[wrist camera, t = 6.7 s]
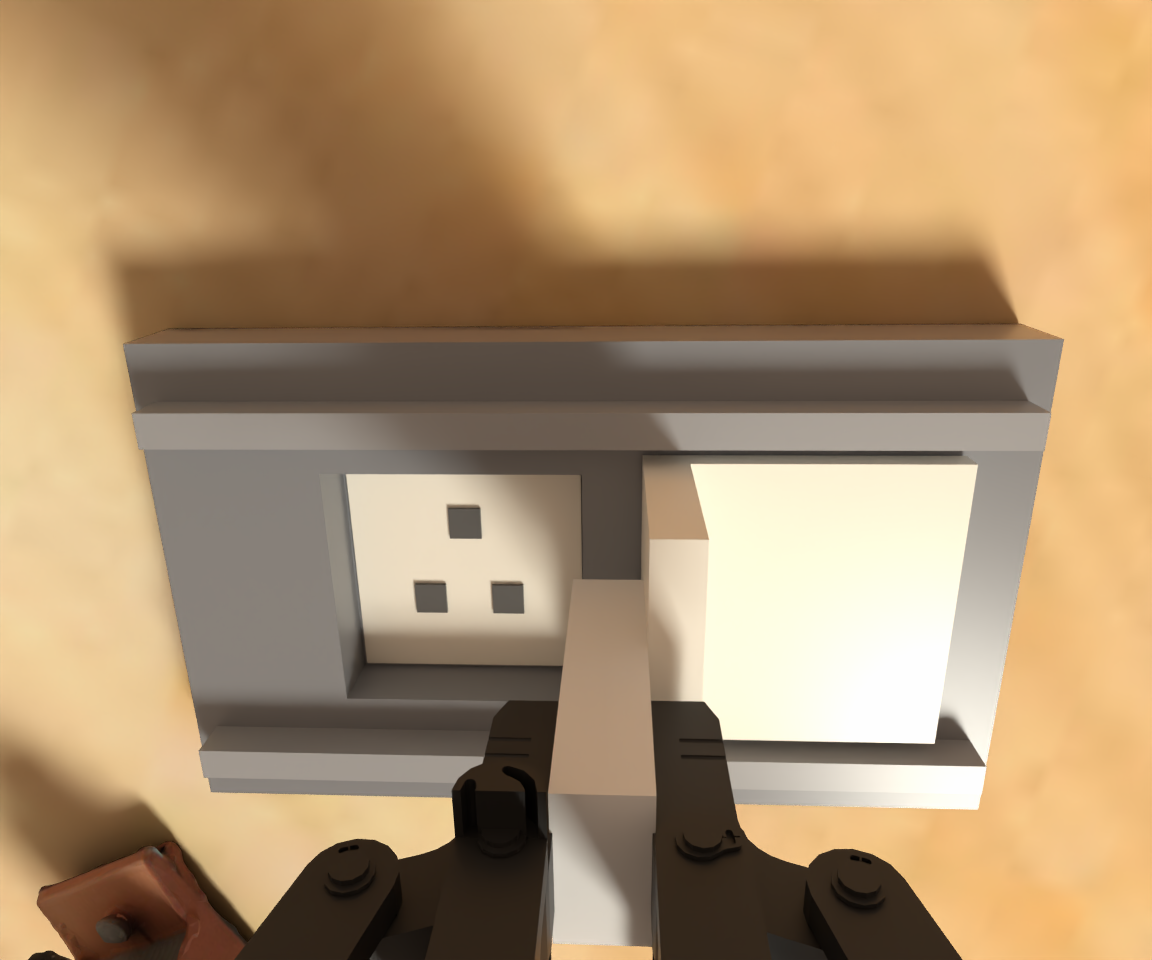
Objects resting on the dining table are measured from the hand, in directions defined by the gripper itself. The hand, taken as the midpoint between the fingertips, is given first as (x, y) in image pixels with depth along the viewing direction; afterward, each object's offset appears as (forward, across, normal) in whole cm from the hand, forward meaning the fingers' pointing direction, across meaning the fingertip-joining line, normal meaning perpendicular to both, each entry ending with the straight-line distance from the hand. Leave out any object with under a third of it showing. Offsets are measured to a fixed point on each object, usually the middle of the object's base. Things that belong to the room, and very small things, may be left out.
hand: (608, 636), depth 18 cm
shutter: (+2, +4, 0) cm, 5 cm away
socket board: (+4, -1, 0) cm, 4 cm away
